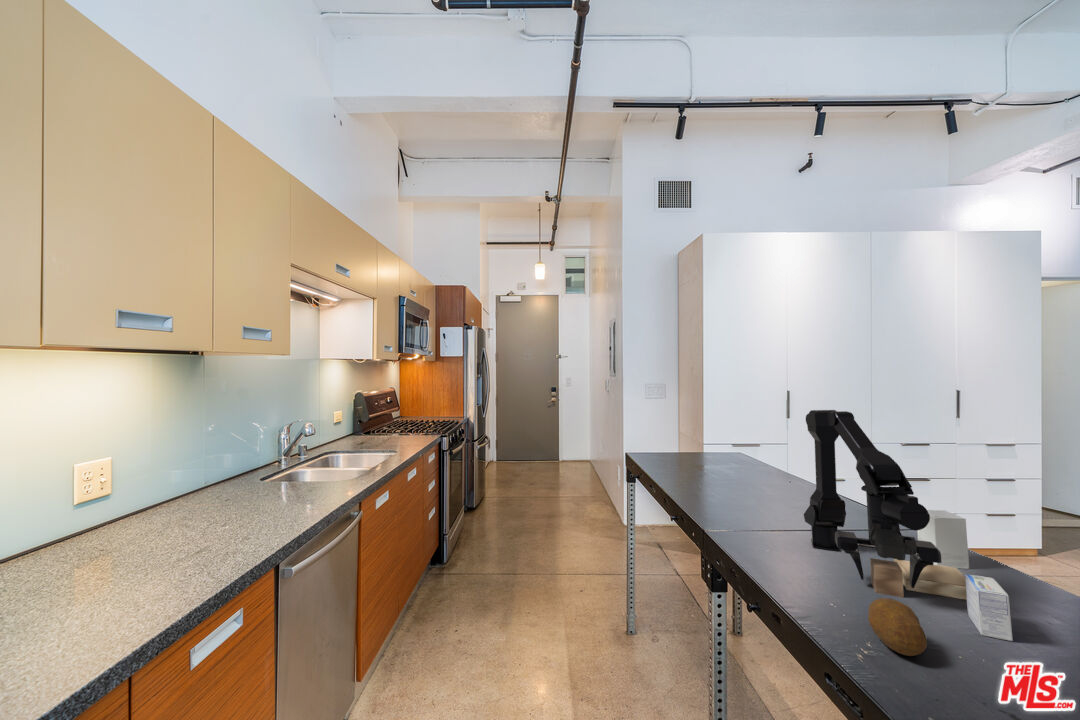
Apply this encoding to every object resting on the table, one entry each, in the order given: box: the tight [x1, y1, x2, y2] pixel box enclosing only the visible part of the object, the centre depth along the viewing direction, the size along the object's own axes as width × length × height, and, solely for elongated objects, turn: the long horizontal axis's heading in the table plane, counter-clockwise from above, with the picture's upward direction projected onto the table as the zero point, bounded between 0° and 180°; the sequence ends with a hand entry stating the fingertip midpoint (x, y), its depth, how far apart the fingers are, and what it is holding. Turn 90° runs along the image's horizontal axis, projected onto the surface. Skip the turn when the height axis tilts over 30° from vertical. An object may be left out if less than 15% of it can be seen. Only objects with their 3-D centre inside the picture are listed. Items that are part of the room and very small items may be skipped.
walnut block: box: [869, 557, 905, 598], centre depth 100 cm, size 5×5×6 cm
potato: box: [867, 597, 928, 657], centre depth 80 cm, size 8×12×8 cm, turn 169°
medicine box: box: [964, 574, 1014, 642], centre depth 84 cm, size 8×4×9 cm, turn 148°
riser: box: [893, 559, 967, 601], centre depth 102 cm, size 12×12×3 cm
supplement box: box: [916, 509, 970, 570], centre depth 113 cm, size 7×7×13 cm
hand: (886, 583), depth 100 cm, fingers open, 9 cm apart
